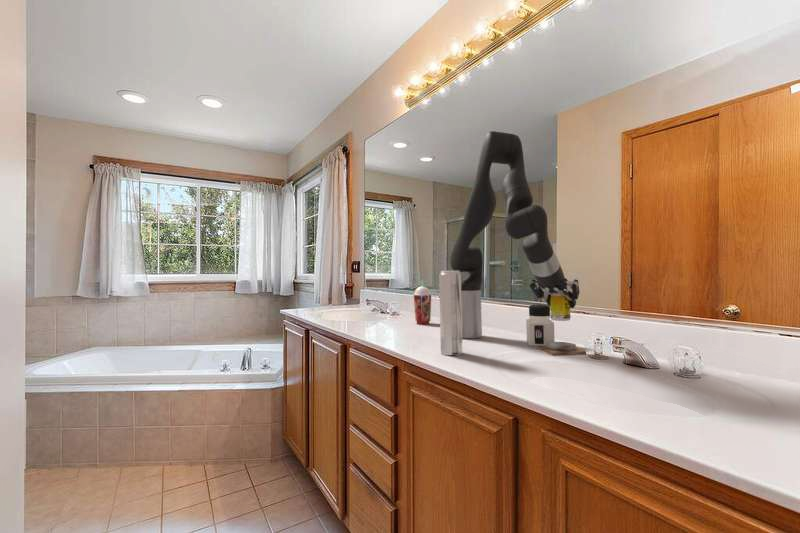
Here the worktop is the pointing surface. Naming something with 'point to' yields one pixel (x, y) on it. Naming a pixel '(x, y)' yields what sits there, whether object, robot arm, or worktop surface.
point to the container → (539, 325)
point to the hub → (561, 348)
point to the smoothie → (422, 304)
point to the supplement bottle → (559, 307)
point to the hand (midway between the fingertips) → (562, 305)
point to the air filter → (450, 312)
